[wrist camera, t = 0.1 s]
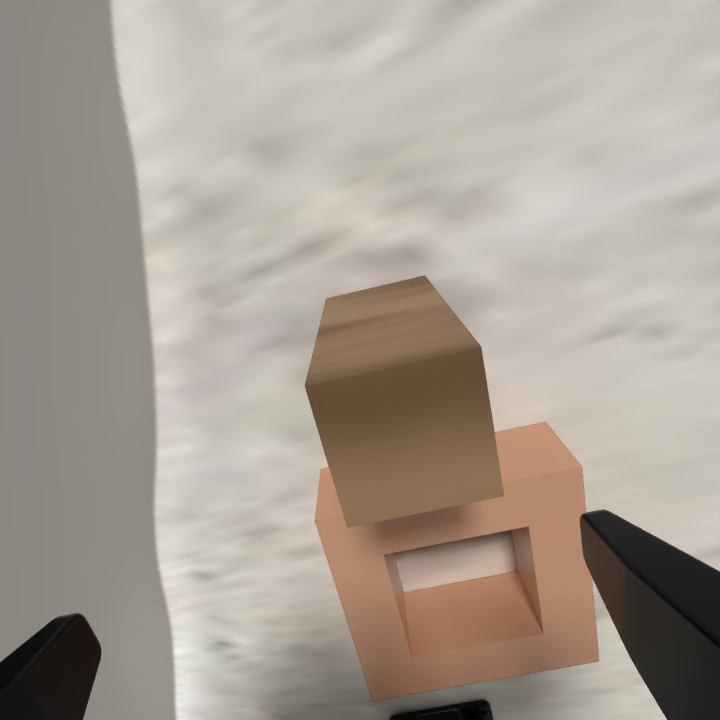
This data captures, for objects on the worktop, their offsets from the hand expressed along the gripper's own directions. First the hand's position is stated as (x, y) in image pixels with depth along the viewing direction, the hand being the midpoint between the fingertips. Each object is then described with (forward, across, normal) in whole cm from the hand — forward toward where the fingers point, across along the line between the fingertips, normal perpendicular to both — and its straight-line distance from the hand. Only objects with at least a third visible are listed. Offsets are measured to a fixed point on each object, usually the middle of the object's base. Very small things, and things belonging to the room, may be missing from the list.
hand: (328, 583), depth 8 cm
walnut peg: (+15, -2, 0) cm, 15 cm away
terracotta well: (+15, -3, +12) cm, 19 cm away
